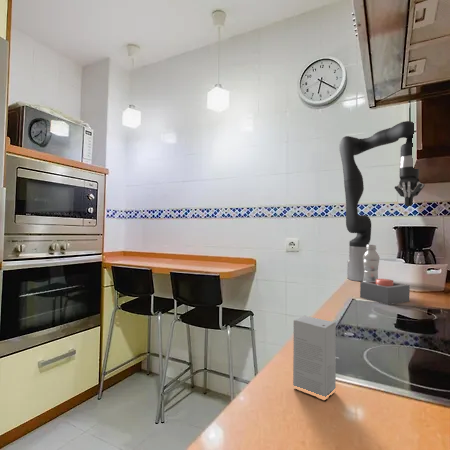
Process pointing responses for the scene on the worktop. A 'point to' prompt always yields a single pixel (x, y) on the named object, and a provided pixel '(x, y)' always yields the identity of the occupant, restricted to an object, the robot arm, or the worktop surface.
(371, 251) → the plastic bottle
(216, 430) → the worktop surface
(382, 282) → the button
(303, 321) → the skincare box
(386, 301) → the button box
